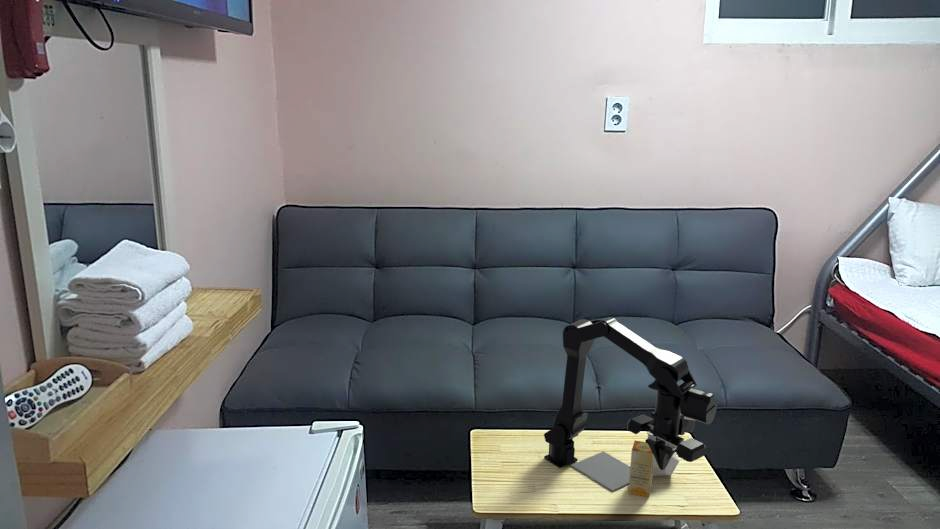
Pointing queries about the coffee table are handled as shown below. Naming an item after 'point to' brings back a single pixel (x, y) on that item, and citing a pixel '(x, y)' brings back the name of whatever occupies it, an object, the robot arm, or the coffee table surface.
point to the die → (668, 469)
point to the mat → (605, 470)
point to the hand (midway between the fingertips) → (662, 469)
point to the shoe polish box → (641, 469)
